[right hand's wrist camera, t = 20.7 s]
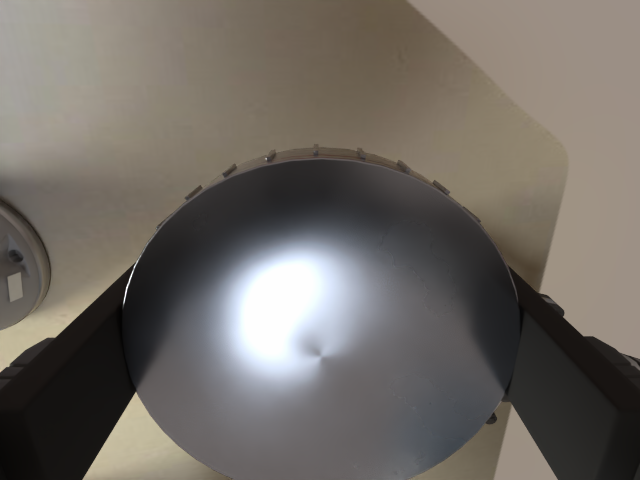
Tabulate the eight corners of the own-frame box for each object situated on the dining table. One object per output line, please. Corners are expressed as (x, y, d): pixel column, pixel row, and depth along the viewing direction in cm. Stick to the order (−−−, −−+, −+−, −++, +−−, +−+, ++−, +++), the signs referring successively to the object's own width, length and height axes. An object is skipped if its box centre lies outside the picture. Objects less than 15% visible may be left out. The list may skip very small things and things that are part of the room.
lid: (362, 53, 9) (370, 46, 8) (558, 350, 12) (592, 388, 11) (68, 292, 12) (30, 323, 10) (294, 497, 15) (290, 544, 13)
